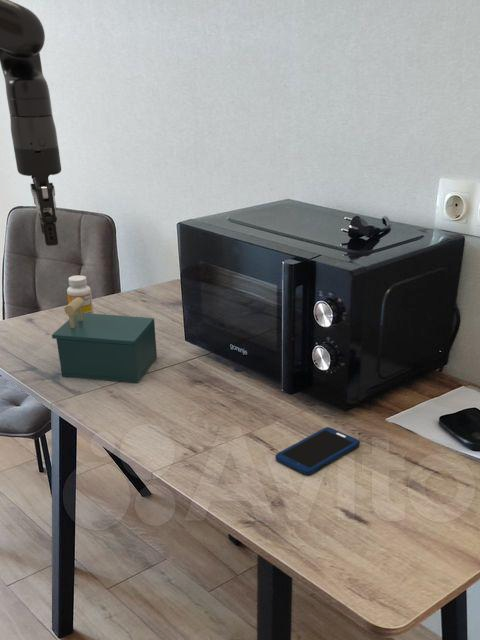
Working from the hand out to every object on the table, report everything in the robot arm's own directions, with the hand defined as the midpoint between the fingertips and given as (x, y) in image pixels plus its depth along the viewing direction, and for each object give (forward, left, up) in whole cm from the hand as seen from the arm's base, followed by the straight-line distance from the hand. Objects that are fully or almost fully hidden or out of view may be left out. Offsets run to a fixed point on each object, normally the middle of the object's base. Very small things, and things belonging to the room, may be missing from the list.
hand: (50, 239), depth 131 cm
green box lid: (+9, -1, -17) cm, 19 cm away
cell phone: (+54, -27, -25) cm, 66 cm away
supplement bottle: (-7, +24, -25) cm, 35 cm away
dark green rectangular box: (+9, -1, -25) cm, 26 cm away
